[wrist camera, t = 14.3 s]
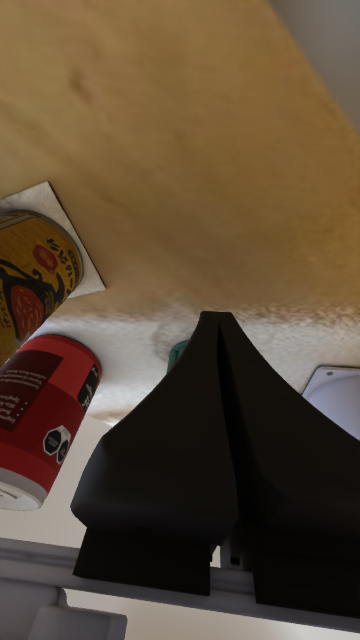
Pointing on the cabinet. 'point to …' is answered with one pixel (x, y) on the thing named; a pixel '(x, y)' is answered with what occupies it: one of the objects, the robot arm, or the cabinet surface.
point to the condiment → (37, 265)
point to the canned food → (41, 415)
